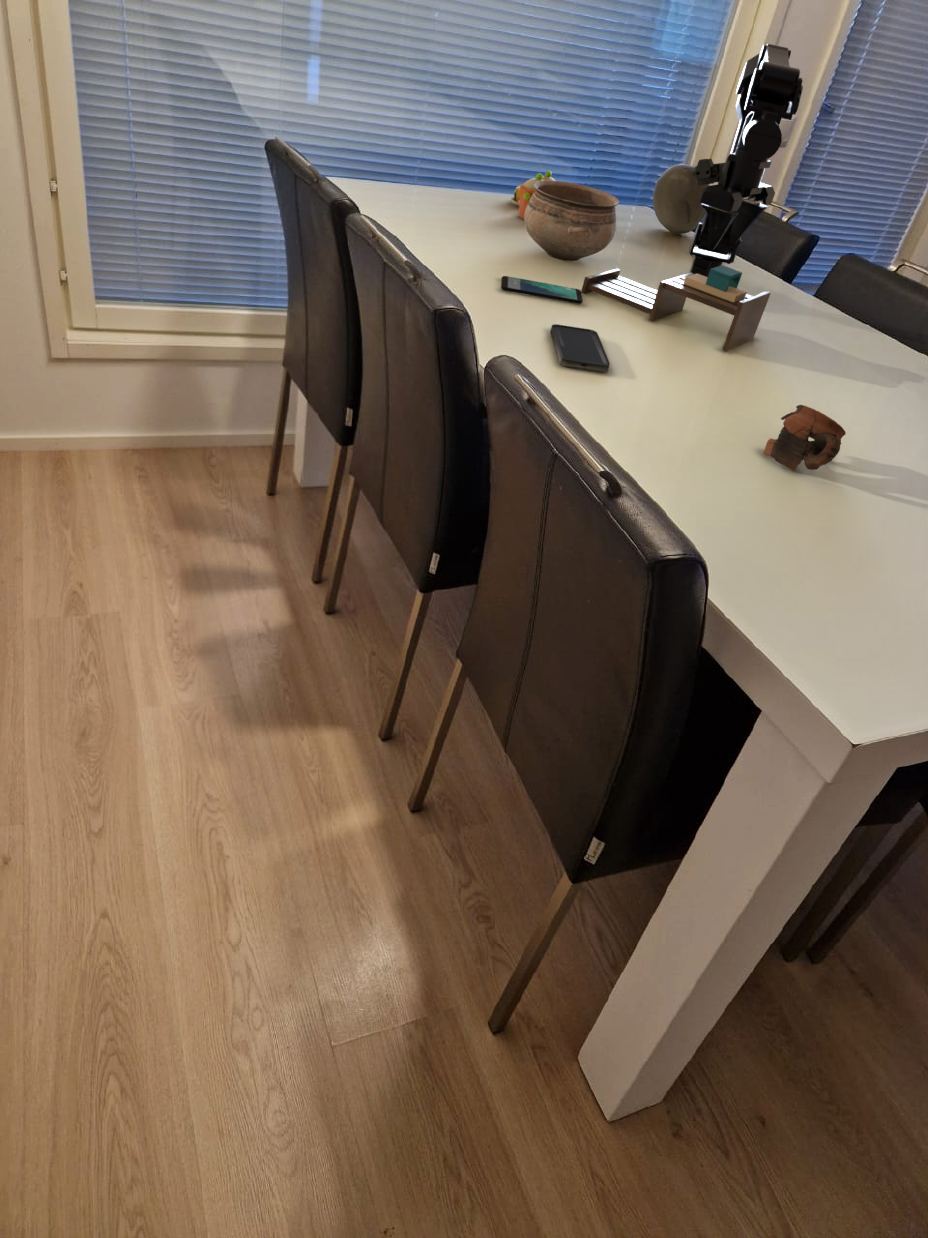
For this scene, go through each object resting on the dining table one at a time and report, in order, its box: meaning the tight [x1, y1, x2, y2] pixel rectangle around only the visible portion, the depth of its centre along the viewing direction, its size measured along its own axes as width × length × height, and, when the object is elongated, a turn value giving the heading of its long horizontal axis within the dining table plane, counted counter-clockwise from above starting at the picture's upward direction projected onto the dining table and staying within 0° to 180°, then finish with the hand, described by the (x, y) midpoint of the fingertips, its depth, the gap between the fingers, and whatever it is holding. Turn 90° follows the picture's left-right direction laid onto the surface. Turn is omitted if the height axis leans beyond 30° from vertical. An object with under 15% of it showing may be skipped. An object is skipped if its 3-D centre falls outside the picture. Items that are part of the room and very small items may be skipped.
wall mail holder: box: [684, 264, 748, 303], centre depth 152 cm, size 5×10×4 cm, turn 51°
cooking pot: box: [523, 180, 620, 262], centre depth 177 cm, size 25×19×12 cm
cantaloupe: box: [652, 163, 711, 235], centre depth 209 cm, size 14×14×15 cm
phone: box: [549, 323, 611, 373], centre depth 138 cm, size 8×1×15 cm
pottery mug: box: [762, 404, 847, 472], centre depth 118 cm, size 12×10×8 cm
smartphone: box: [500, 275, 584, 305], centre depth 159 cm, size 7×1×15 cm
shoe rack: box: [580, 268, 771, 353], centre depth 158 cm, size 12×31×8 cm, turn 51°
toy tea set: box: [510, 170, 556, 220], centre depth 204 cm, size 26×16×10 cm, turn 7°
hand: (721, 245), depth 157 cm, fingers open, 9 cm apart
